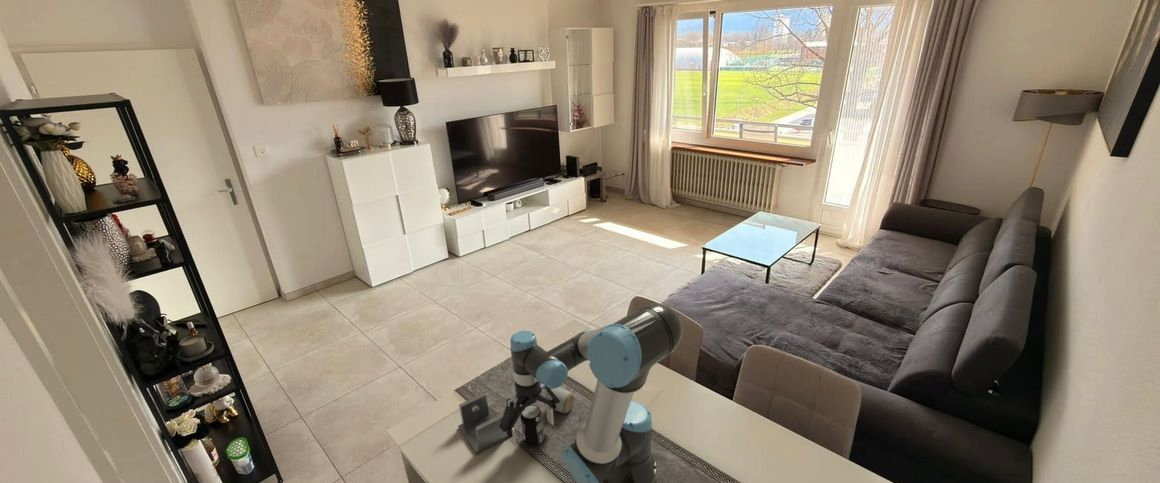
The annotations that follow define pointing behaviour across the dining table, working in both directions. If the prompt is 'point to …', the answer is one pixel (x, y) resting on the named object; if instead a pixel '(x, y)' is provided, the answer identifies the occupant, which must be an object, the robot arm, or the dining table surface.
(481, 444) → the holder
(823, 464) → the dining table surface
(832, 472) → the dining table surface
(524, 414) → the beverage can
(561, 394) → the ceramic mug
